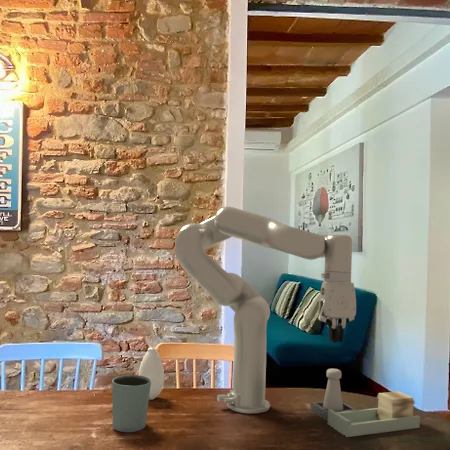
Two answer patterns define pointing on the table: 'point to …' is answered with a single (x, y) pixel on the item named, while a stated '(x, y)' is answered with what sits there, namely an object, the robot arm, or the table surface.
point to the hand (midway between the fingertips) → (335, 341)
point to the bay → (368, 422)
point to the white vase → (153, 371)
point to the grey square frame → (323, 413)
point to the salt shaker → (333, 391)
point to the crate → (394, 405)
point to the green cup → (130, 402)
